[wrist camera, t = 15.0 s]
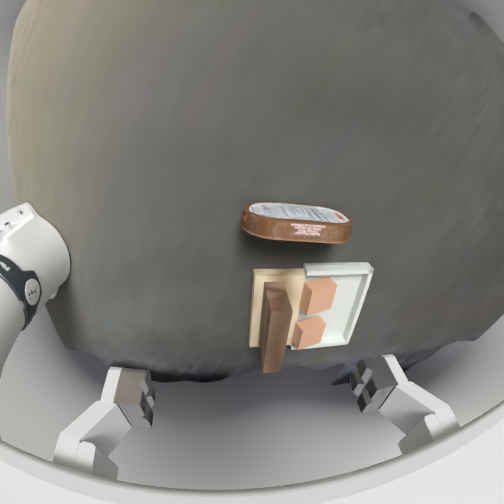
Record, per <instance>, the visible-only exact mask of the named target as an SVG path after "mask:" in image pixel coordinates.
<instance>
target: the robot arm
mask: <svg viewBox="0 0 504 504" xmlns="http://www.w3.org/2000/svg"><path fill="white" fill-rule="evenodd" d="M22 212H23V213H22ZM69 272H70V257H69V253H68V250H67V247H66V245H65V242H64V241H63V239H62V237H61V236H60V234H59V233H58V231H57V230H56V229H55V228H54V227H53V226H52V225H51V224H50V223H49V222H47V221H46V220H44V219H43V218H41V217H40V216H39V215H38V214H37V212H36V211H35V210H34V208H33V207H32V206H31V205H30V204H29V203H23V204H21V205H19V206H16V207H14V208H12V209H10V210H8V211H5V212H3V213H2V214H0V377H1V372H2V369H3V366H4V363H5V361H6V358H7V356H8V354H9V352H10V350H11V348H12V346H13V344H14V343H15V341H16V339H17V337H18V335H19V334H20V332H21V331H23V330H24V329H25V328H26V327H27V326H28V324H30V322H31V321H32V318H33V316H34V315H36V314H37V313H38V312H39V310H40V309H41V308H42V307H43V306H44V304H45V303H46V302H47V301H48V300H49V299H53V298H54V297H55V296H56V295H57V292H58V288H59V286H60V285H61V284H62V283H64V282H65V280H66V279H67V277H68V275H69ZM356 366H357V368H358V369H356V370H355V371H354V372H353V373H352V376H351V388H352V390H353V393H355V394H356V395H357V396H358V398H357V404H358V406H359V409H360V411H361V413H365V412H369V411H374V410H378V409H379V411H380V412H381V413H382V414H383V415H384V416H385V417H386V418H388V419H389V420H390V421H391V422H392V423H393V424H394V425H396V426H397V427H398V428H399V429H400V430H401V431H402V432H404V433H405V434H406V436H405V437H404V438H403V439H402V440H400V442H399V444H398V445H399V447H400V450H401V452H402V455H400V456H398V457H395V458H393V459H390V460H387V461H384V462H381V463H378V464H375V465H372V466H369V467H366V468H363V469H359V470H356V471H353V472H349V473H345V474H341V475H337V476H332V477H328V478H324V479H319V480H314V481H309V482H303V483H297V484H290V485H284V486H276V487H266V488H254V489H238V490H193V489H175V488H165V487H156V486H148V485H141V484H134V483H128V482H123V481H118V480H117V473H118V467H117V466H116V464H114V463H113V462H112V461H111V460H110V459H109V458H108V455H109V454H110V453H111V452H112V451H113V449H114V448H115V447H116V445H117V444H118V443H119V442H120V441H121V440H122V438H123V437H124V436H125V435H126V433H127V432H128V431H129V430H130V428H131V426H135V427H147V428H152V422H153V412H152V409H151V407H152V406H153V405H154V404H155V386H154V383H153V382H152V381H151V380H150V377H151V375H150V372H149V370H138V369H128V368H120V367H110V369H109V370H108V374H107V377H106V381H105V384H104V388H103V392H102V395H101V399H100V401H96V402H95V403H93V404H92V405H91V406H90V407H89V408H88V409H87V410H86V411H85V412H83V413H82V414H81V415H80V416H79V417H78V418H77V419H76V420H74V421H73V422H72V423H71V424H70V425H69V426H68V427H67V428H66V429H65V430H63V431H62V432H61V433H60V435H59V438H58V442H57V446H56V450H55V455H54V459H53V462H50V461H47V460H45V459H42V458H40V457H37V456H34V455H32V454H30V453H27V452H25V451H23V450H20V449H18V448H16V447H14V446H12V445H10V444H8V443H6V442H4V441H2V440H1V437H0V504H504V401H502V402H500V403H499V404H497V405H496V406H495V407H493V408H492V409H490V410H489V411H487V412H485V413H484V414H483V415H481V416H479V417H477V418H476V419H474V420H472V421H471V422H469V423H467V424H466V425H464V426H462V427H460V426H459V424H458V422H457V420H456V418H455V416H454V414H453V412H452V410H451V409H450V406H449V405H447V404H446V403H444V402H443V401H441V400H439V399H438V398H436V397H434V396H433V395H431V394H430V393H428V392H427V391H425V390H424V389H422V388H421V387H419V386H418V385H416V384H414V383H413V382H408V380H407V378H406V376H405V374H404V373H403V371H402V369H401V367H400V365H399V364H398V362H397V360H396V358H395V357H394V355H392V354H388V355H384V356H377V357H372V358H367V359H362V360H360V361H358V363H357V365H356Z"/></svg>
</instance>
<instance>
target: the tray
mask: <svg viewBox="0 0 504 504" xmlns="http://www.w3.org/2000/svg"><path fill="white" fill-rule="evenodd" d="M303 270H304V273H305V275H306V277H305V282H308V281H312V280H317V279H321V278H326V277H330V278H331V279H332V280H333V281H334V282H335V283H336V284H337V289H336V293H335V296H334V300H333V303H332V306H331V309H328V310H324V311H321V312H318V313H314V314H311V315H306V314H305V313H304V312H303V311H302V309H301V308H299V313H298V318H297V322H298V321H301V320H305V319H308V318H311V317H315V316H318V315H319V316H320V317H321V318H322V319H323V321H324V322H325V323H326V326H325V329H324V333H323V336H322V339H321V342H320V343H318V344H315V345H312V346H309V347H306V348H303V349H307V348H317V347H327V346H336V345H344V344H348V342H349V340H350V337H351V334H352V332H353V329H354V327H355V324H356V321H357V319H358V316H359V313H360V310H361V307H362V305H363V302H364V299H365V296H366V293H367V290H368V287H369V284H370V281H371V277H372V274H373V271H374V269H373V268H372V267H371V265H370V264H369V263H368V262H354V263H303ZM290 347H291V350H295V349H297V348H296V347H295V346H294V344H293V343H292V345H290Z"/></svg>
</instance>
